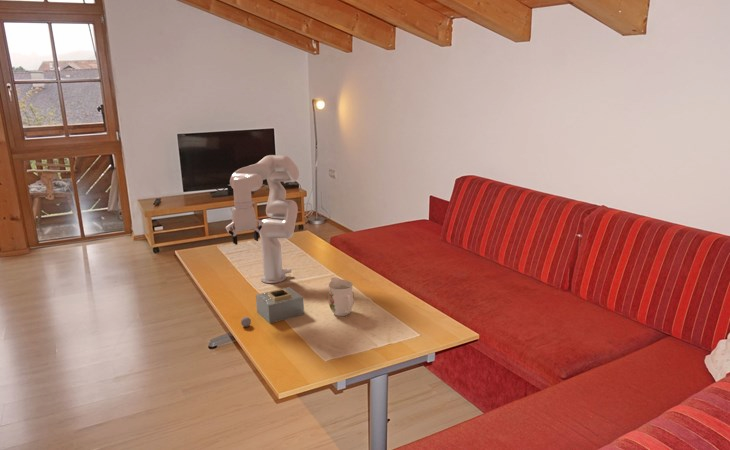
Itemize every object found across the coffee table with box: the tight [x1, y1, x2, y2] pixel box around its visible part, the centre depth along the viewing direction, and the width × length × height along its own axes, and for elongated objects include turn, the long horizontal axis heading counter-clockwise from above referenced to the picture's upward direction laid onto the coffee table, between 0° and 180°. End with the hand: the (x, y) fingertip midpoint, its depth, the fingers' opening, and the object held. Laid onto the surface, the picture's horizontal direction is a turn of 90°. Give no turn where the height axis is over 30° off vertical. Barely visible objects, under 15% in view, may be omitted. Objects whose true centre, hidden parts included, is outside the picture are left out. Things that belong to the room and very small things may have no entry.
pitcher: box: [327, 277, 355, 317], centre depth 233 cm, size 11×18×14 cm, turn 27°
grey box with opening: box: [255, 286, 305, 324], centre depth 235 cm, size 16×14×9 cm
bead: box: [240, 316, 252, 328], centre depth 224 cm, size 4×4×4 cm
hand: (246, 242), depth 242 cm, fingers open, 9 cm apart
